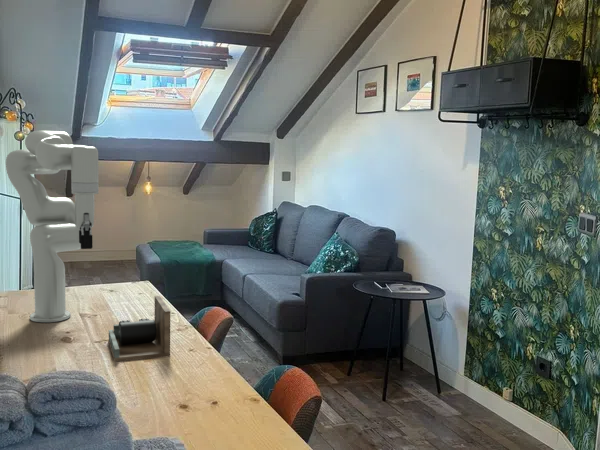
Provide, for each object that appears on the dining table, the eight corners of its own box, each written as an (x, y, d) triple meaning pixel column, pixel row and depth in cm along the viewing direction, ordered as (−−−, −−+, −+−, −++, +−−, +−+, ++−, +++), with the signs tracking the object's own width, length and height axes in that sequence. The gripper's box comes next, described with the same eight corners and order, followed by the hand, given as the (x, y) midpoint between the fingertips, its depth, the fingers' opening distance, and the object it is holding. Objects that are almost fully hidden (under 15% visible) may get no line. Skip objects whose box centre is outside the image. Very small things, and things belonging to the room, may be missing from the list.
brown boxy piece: (108, 341, 184) (108, 298, 182) (159, 336, 189) (159, 295, 188) (114, 361, 167) (114, 315, 166) (170, 356, 173) (170, 311, 171)
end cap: (121, 349, 174) (121, 326, 173) (117, 341, 181) (117, 319, 180) (156, 345, 179) (156, 322, 178) (151, 337, 185) (151, 316, 184)
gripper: (70, 186, 187) (71, 241, 189) (72, 190, 171) (73, 251, 173) (96, 186, 189) (96, 240, 192) (100, 191, 174) (101, 250, 176)
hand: (85, 245), depth 182 cm, fingers open, 9 cm apart
